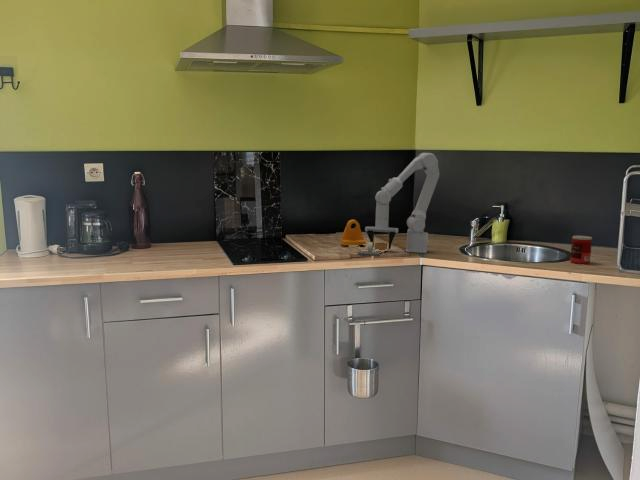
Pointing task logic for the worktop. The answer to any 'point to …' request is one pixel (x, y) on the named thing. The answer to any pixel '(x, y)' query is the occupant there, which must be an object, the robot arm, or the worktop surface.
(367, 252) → the post block
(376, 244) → the ring
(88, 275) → the worktop surface
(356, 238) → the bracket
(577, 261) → the canned food
